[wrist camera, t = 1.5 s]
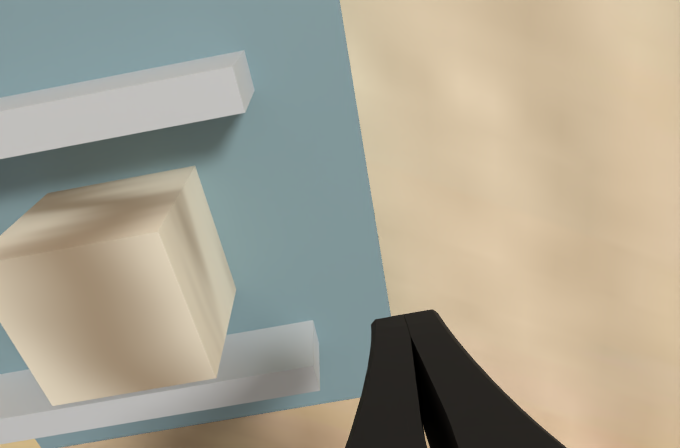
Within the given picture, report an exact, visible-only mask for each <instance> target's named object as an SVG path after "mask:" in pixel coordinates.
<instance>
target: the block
mask: <svg viewBox="0 0 680 448" xmlns="http://www.w3.org/2000/svg"><path fill="white" fill-rule="evenodd" d="M235 293H236V287H235V284H234V281H233V278H232V275H231V272H230V269H229V266H228V263H227V260H226V257H225V254H224V251H223V248H222V245H221V242H220V239H219V236H218V233H217V230H216V227H215V224H214V221H213V218H212V215H211V212H210V209H209V206H208V203H207V200H206V197H205V194H204V191H203V188H202V185H201V182H200V179H199V176H198V173H197V170H196V167H195V166H190V167H185V168H180V169H174V170H169V171H164V172H158V173H153V174H147V175H142V176H137V177H131V178H126V179H121V180H115V181H110V182H105V183H99V184H94V185H88V186H83V187H78V188H72V189H67V190H62V191H56V192H51V193H47V194H46V195H45V196H44V197H43V198H42V199H40V200H39V201H38V202H37V203H36V204H35V205H34V206H33V207H31V208H30V209H29V210H28V211H27V212H26V213H25V214H24V215H23V216H21V217H20V218H19V219H18V220H17V221H16V222H15V223H14V224H13V225H11V226H10V227H9V228H8V229H7V230H6V231H5V232H4V233H2V234H1V235H0V323H1V325H2V326H3V328H4V329H5V331H6V333H7V334H8V336H9V337H10V339H11V341H12V342H13V344H14V345H15V347H16V349H17V350H18V352H19V353H20V355H21V357H22V358H23V360H24V361H25V363H26V365H27V366H28V368H29V369H30V371H31V373H32V374H33V376H34V377H35V379H36V381H37V382H38V384H39V385H40V387H41V389H42V390H43V392H44V393H45V395H46V397H47V398H48V400H49V401H50V403H51V405H52V406H56V405H62V404H68V403H74V402H80V401H86V400H91V399H97V398H103V397H109V396H115V395H121V394H127V393H133V392H138V391H144V390H150V389H156V388H162V387H168V386H174V385H179V384H185V383H191V382H197V381H203V380H209V379H215V378H217V373H218V369H219V364H220V360H221V356H222V351H223V347H224V342H225V338H226V333H227V329H228V324H229V320H230V316H231V311H232V307H233V302H234V298H235Z"/></svg>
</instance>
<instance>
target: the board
mask: <svg viewBox="0 0 680 448" xmlns="http://www.w3.org/2000/svg"><path fill="white" fill-rule="evenodd" d="M190 166H195V167H196V170H197V173H198V176H199V179H200V182H201V185H202V188H203V191H204V194H205V197H206V200H207V203H208V206H209V209H210V212H211V215H212V218H213V221H214V224H215V227H216V230H217V233H218V236H219V239H220V242H221V245H222V248H223V251H224V254H225V257H226V260H227V263H228V266H229V269H230V272H231V275H232V278H233V281H234V284H235V287H236V293H235V298H234V302H233V307H232V311H231V316H230V320H229V324H228V329H227V333H226V338H225V342H224V347H223V351H222V356H221V360H220V364H219V369H218V373H217V378H215V379H209V380H203V381H197V382H191V383H185V384H179V385H174V386H168V387H162V388H156V389H150V390H144V391H138V392H133V393H127V394H121V395H115V396H109V397H103V398H97V399H91V400H86V401H80V402H74V403H68V404H62V405H56V406H52V405H51V403H50V401H49V400H48V398H47V397H46V395H45V393H44V392H43V390H42V389H41V387H40V385H39V384H38V382H37V381H36V379H35V377H34V376H33V374H32V373H31V371H30V369H29V368H28V366H27V365H26V363H25V361H24V360H23V358H22V357H21V355H20V353H19V352H18V350H17V349H16V347H15V345H14V344H13V342H12V341H11V339H10V337H9V336H8V334H7V333H6V331H5V329H4V328H3V326H2V325H1V323H0V448H60V447H66V446H72V445H78V444H84V443H90V442H96V441H102V440H108V439H114V438H120V437H126V436H132V435H138V434H143V433H149V432H155V431H161V430H167V429H173V428H179V427H185V426H191V425H197V424H203V423H209V422H215V421H221V420H227V419H233V418H239V417H245V416H251V415H257V414H263V413H269V412H275V411H281V410H287V409H293V408H299V407H305V406H311V405H317V404H323V403H329V402H335V401H341V400H347V399H353V398H359V397H361V394H362V389H363V385H364V380H365V376H366V371H367V367H368V360H369V354H370V346H371V324H372V323H373V321H374V320H375V319H380V318H386V317H391V314H390V308H389V302H388V296H387V289H386V283H385V277H384V271H383V265H382V259H381V253H380V246H379V240H378V234H377V228H376V222H375V216H374V209H373V203H372V197H371V191H370V185H369V179H368V173H367V166H366V160H365V154H364V148H363V142H362V136H361V130H360V123H359V117H358V111H357V105H356V99H355V93H354V87H353V80H352V74H351V68H350V62H349V56H348V50H347V44H346V37H345V31H344V25H343V19H342V13H341V7H340V1H339V0H0V235H1V234H2V233H4V232H5V231H6V230H7V229H8V228H9V227H10V226H11V225H13V224H14V223H15V222H16V221H17V220H18V219H19V218H20V217H21V216H23V215H24V214H25V213H26V212H27V211H28V210H29V209H30V208H31V207H33V206H34V205H35V204H36V203H37V202H38V201H39V200H40V199H42V198H43V197H44V196H45V195H46V194H47V193H51V192H56V191H62V190H67V189H72V188H78V187H83V186H88V185H94V184H99V183H105V182H110V181H115V180H121V179H126V178H131V177H137V176H142V175H147V174H153V173H158V172H164V171H169V170H174V169H180V168H185V167H190Z"/></svg>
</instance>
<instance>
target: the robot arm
mask: <svg viewBox="0 0 680 448" xmlns="http://www.w3.org/2000/svg"><path fill="white" fill-rule="evenodd" d="M423 426H424V428H423ZM424 430H425V433H426V436H427V440H428V443H429V446H430V448H566V447H565V446H564V445H563V444H561V443H560V442H559V441H558V440H557V439H555V438H554V437H553V436H552V435H551V434H549V433H548V432H547V431H546V430H545V429H544V428H542V427H541V426H540V425H539V424H538V423H537V422H536V421H534V420H533V419H532V418H531V417H530V416H529V415H528V414H527V413H526V412H525V411H523V410H522V409H521V408H520V407H519V406H518V405H517V404H516V403H515V402H514V401H513V400H512V399H511V398H510V397H509V396H508V395H507V394H506V393H505V392H504V391H503V390H502V389H501V388H500V387H499V386H498V385H497V384H496V383H495V382H494V381H493V380H492V379H491V378H490V377H489V376H488V375H487V374H486V372H485V371H484V370H483V369H482V368H481V367H480V366H479V365H478V364H477V363H476V362H475V361H474V359H473V358H472V357H471V356H470V355H469V354H468V352H467V351H466V350H465V349H464V348H463V346H462V345H461V344H460V343H459V342H458V340H457V339H456V338H455V337H454V335H453V334H452V333H451V331H450V330H449V329H448V327H447V326H446V325H445V323H444V322H443V320H442V319H441V317H440V316H439V314H438V313H437V312H436V311H434V310H426V311H420V312H415V313H409V314H404V315H397V316H391V317H386V318H380V319H375V320H374V321H373V323H372V324H371V346H370V354H369V360H368V367H367V371H366V376H365V380H364V385H363V389H362V394H361V398H360V402H359V405H358V409H357V412H356V415H355V419H354V422H353V425H352V429H351V432H350V435H349V438H348V441H347V444H346V447H345V448H427V445H426V441H425V436H424Z"/></svg>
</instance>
